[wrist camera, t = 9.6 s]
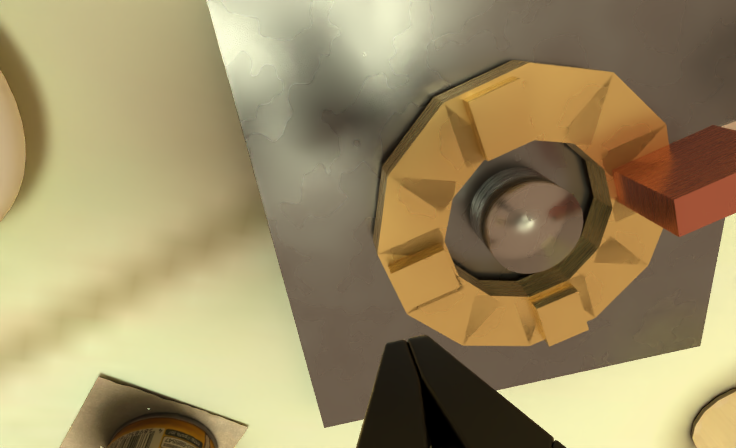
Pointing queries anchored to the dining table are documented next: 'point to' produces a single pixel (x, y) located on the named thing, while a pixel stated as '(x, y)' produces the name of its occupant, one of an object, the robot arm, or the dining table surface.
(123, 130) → the dining table surface
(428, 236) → the ring nut
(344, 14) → the cap plate
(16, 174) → the flower in vase
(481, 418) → the robot arm
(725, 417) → the cup
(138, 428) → the condiment
